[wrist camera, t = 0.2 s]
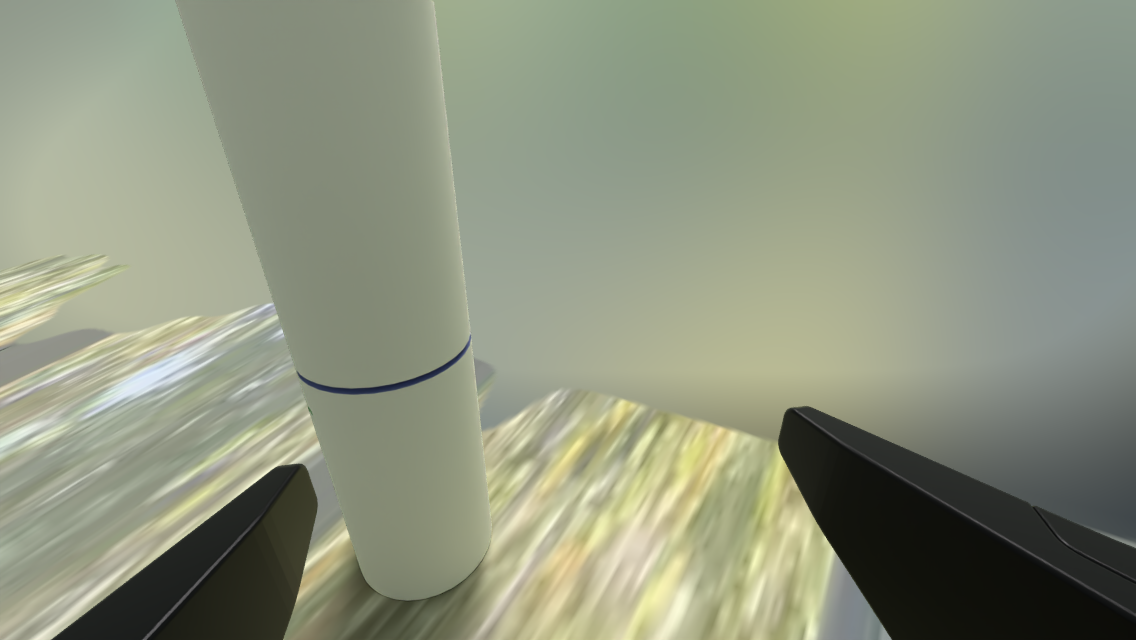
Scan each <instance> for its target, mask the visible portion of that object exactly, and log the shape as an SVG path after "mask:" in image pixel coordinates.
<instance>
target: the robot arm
mask: <svg viewBox="0 0 1136 640" xmlns="http://www.w3.org/2000/svg"><path fill="white" fill-rule="evenodd" d="M778 446H779V450H780V453H781V455H782V457H783V459H784V461H785V463H786V465H787V467H788V469H789V471H790V473H791V475H792V476H793V478H794V480H795V482H796V484H797V486H798V488H799V490H800V492H801V494H802V496H803V498H804V500H805V502H806V504H807V505H808V507H809V509H810V511H811V513H812V515H813V517H814V518H815V520H816V522H817V524H818V525H819V527H820V529H821V530H822V532H823V534H824V535H825V537H826V538H827V540H828V541H829V543H830V544H831V546H832V548H833V549H834V551H835V552H836V554H837V555H838V557H839V558H840V560H841V562H842V563H843V565H844V566H845V568H846V569H847V571H848V572H849V574H850V575H851V577H852V579H853V580H854V582H855V583H856V585H857V586H858V588H859V589H860V591H861V593H862V594H863V596H864V597H865V599H866V600H867V602H868V603H869V605H870V607H871V608H872V610H873V611H874V613H875V614H876V616H877V617H878V619H879V620H880V622H881V624H882V625H883V627H884V628H885V630H886V631H887V633H888V634H889V636H890V638H891V639H892V640H1136V548H1134V547H1132V546H1129V545H1127V544H1124V543H1122V542H1119V541H1117V540H1114V539H1112V538H1109V537H1107V536H1105V535H1102V534H1100V533H1098V532H1095V531H1093V530H1091V529H1088V528H1086V527H1084V526H1081V525H1079V524H1077V523H1074V522H1072V521H1070V520H1067V519H1065V518H1063V517H1060V516H1058V515H1056V514H1053V513H1051V512H1049V511H1047V510H1044V509H1042V508H1040V507H1038V506H1031V504H1029V503H1028V502H1026V501H1024V500H1021V499H1019V498H1017V497H1014V496H1012V495H1010V494H1008V493H1006V492H1003V491H1001V490H998V489H996V488H994V487H992V486H990V485H987V484H985V483H983V482H980V481H978V480H976V479H974V478H971V477H969V476H967V475H964V474H962V473H960V472H958V471H955V470H953V469H951V468H948V467H946V466H944V465H942V464H939V463H937V462H934V461H932V460H930V459H928V458H926V457H923V456H921V455H919V454H917V453H914V452H912V451H910V450H907V449H905V448H903V447H900V446H898V445H896V444H894V443H891V442H889V441H887V440H884V439H882V438H880V437H878V436H876V435H873V434H871V433H868V432H866V431H864V430H862V429H860V428H857V427H855V426H853V425H851V424H848V423H846V422H844V421H841V420H839V419H837V418H835V417H832V416H830V415H828V414H825V413H823V412H821V411H819V410H816V409H814V408H811V407H809V406H802V407H793V408H789V409H787V410H786V412H785V414H784V418H783V422H782V427H781V431H780V435H779V439H778ZM317 507H318V502H317V497H316V494H315V491H314V488H313V485H312V482H311V479H310V476H309V473H308V470H307V468H306V467H305V466H304V465H303V464H291V465H282V466H278V467H276V468H274V469H273V470H271V471H270V472H269V473H267V474H266V475H265V476H263V477H262V478H261V479H260V480H258V481H257V482H256V483H254V484H253V485H252V486H250V487H249V488H248V489H247V490H245V491H244V492H243V493H241V494H240V495H239V496H237V497H236V498H235V499H234V500H232V501H231V502H230V503H228V504H227V505H226V506H224V507H223V508H222V509H221V510H219V511H218V512H217V513H215V514H214V515H213V516H211V517H210V518H209V519H208V520H206V521H205V522H204V523H202V524H201V525H200V526H198V527H197V528H196V529H195V530H193V531H192V532H191V533H189V534H188V535H187V536H185V537H184V538H183V539H182V540H180V541H179V542H178V543H176V544H175V545H174V546H172V547H171V548H170V549H169V550H167V551H166V552H165V553H163V554H162V555H161V556H159V557H158V558H157V559H156V560H154V561H153V562H152V563H150V564H149V565H148V566H146V567H145V568H144V569H143V570H141V571H140V572H139V573H137V574H136V575H135V576H133V577H132V578H131V579H130V580H128V581H127V582H126V583H124V584H123V585H122V586H120V587H119V588H118V589H116V590H115V591H114V592H113V593H111V594H110V595H109V596H107V597H106V598H105V599H103V600H102V601H101V602H100V603H98V604H97V605H96V606H94V607H93V608H92V609H90V610H89V611H88V612H87V613H85V614H84V615H83V616H81V617H80V618H79V619H77V620H76V621H75V622H74V623H72V624H71V625H70V626H68V627H67V628H66V629H64V630H63V631H62V632H61V633H59V634H58V635H57V636H55V637H54V638H53V639H51V640H283V638H284V635H285V632H286V630H287V627H288V624H289V621H290V618H291V615H292V612H293V609H294V606H295V602H296V599H297V595H298V591H299V587H300V583H301V579H302V575H303V570H304V566H305V562H306V557H307V553H308V549H309V544H310V540H311V536H312V531H313V527H314V523H315V518H316V514H317Z"/></svg>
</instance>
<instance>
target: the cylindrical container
mask: <svg viewBox="0 0 1136 640" xmlns="http://www.w3.org/2000/svg"><path fill="white" fill-rule="evenodd" d="M175 1H176V4H177V7H178V10H179V13H180V16H181V19H182V22H183V26H184V28H185V31H186V35H187V38H188V41H189V44H190V47H191V50H192V53H193V56H194V59H195V62H196V65H197V68H198V72H199V75H200V78H201V81H202V84H203V87H204V90H205V93H206V96H207V99H208V102H209V105H210V108H211V111H212V114H213V118H214V120H215V124H216V126H217V130H218V133H219V136H220V139H221V142H222V145H223V148H224V151H225V154H226V158H227V161H228V164H229V167H230V170H231V173H232V176H233V179H234V182H235V185H236V188H237V191H238V194H239V197H240V200H241V203H242V207H243V210H244V213H245V216H246V219H247V222H248V225H249V228H250V231H251V234H252V237H253V240H254V243H255V247H256V250H257V253H258V256H259V258H260V262H261V265H262V268H263V271H264V274H265V277H266V280H267V283H268V286H269V289H270V293H271V295H272V298H273V302H274V305H275V308H276V311H277V314H278V317H279V320H280V323H281V326H282V329H283V332H284V335H285V339H286V342H287V345H288V348H289V351H290V354H291V357H292V360H293V363H294V366H295V369H296V372H297V375H298V378H299V382H300V385H301V388H302V391H303V394H304V397H305V400H306V403H307V405H308V409H309V412H310V415H311V418H312V421H313V425H314V428H315V431H316V434H317V437H318V440H319V443H320V446H321V449H322V452H323V455H324V458H325V461H326V465H327V468H328V471H329V474H330V477H331V480H332V483H333V486H334V489H335V492H336V495H337V498H338V501H339V505H340V508H341V511H342V514H343V517H344V520H345V523H346V526H347V529H348V532H349V535H350V538H351V541H352V545H353V548H354V551H355V554H356V557H357V560H358V563H359V566H360V569H361V572H362V574H363V576H364V578H365V580H366V582H367V583H368V584H369V585H370V586H371V587H372V589H374V590H375V591H377V592H378V593H380V594H381V595H384V596H386V597H389V598H392V599H397V600H406V601H410V600H421V599H426V598H429V597H433V596H436V595H439V594H441V593H443V592H445V591H447V590H449V589H452V588H453V587H455V586H456V585H458V584H459V583H460V582H462V581H463V580H465V579H466V578H467V577H468V576H469V575H470V574H471V573H472V572H473V571H474V570H475V569H476V567H477V566H478V565H479V563H480V562H481V561H482V559H483V557H484V556H485V554H486V552H487V550H488V547H489V544H490V540H491V534H492V522H491V513H490V504H489V495H488V486H487V477H486V468H485V460H484V451H483V442H482V433H481V424H480V414H479V405H478V396H477V387H476V378H475V368H474V359H473V350H472V341H471V335H470V323H469V314H468V305H467V296H466V287H465V278H464V270H463V260H462V252H461V242H460V234H459V225H458V216H457V207H456V198H455V189H454V180H453V170H452V162H451V152H450V144H449V134H448V125H447V116H446V106H445V97H444V88H443V79H442V71H441V62H440V52H439V43H438V34H437V24H436V15H435V6H434V2H433V1H432V0H175Z"/></svg>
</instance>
